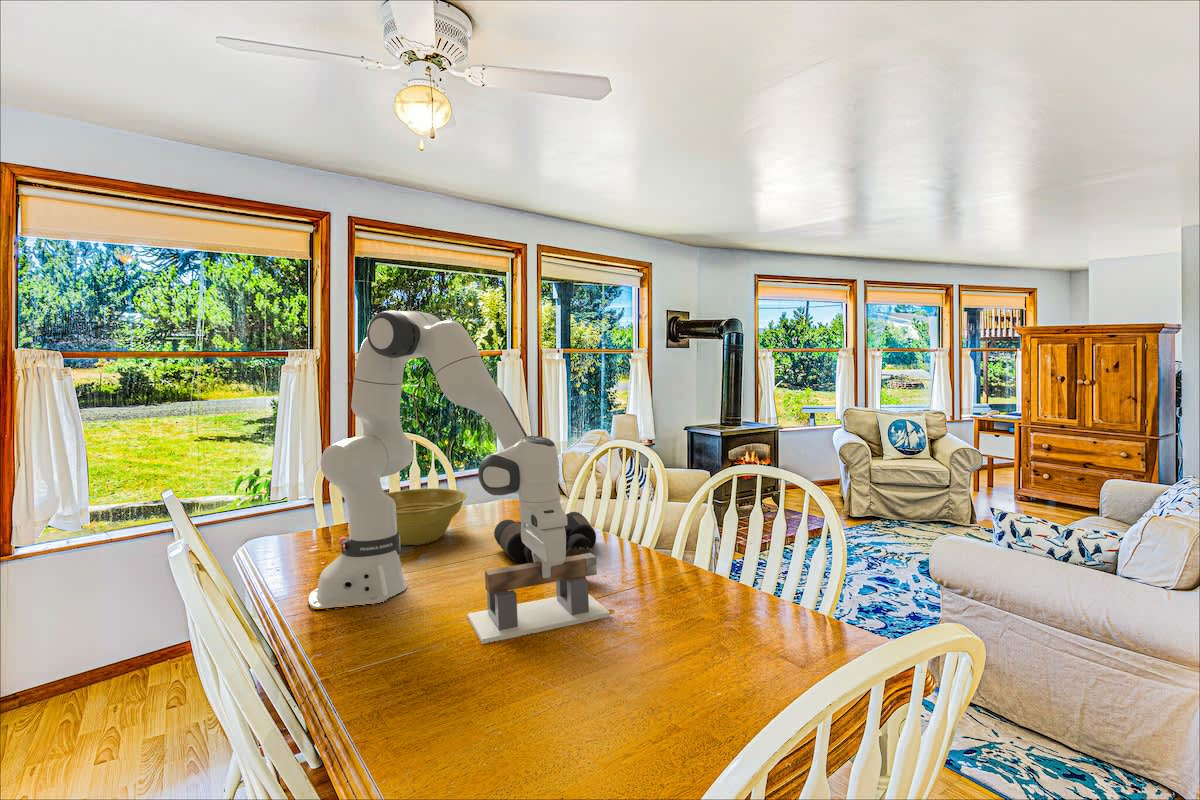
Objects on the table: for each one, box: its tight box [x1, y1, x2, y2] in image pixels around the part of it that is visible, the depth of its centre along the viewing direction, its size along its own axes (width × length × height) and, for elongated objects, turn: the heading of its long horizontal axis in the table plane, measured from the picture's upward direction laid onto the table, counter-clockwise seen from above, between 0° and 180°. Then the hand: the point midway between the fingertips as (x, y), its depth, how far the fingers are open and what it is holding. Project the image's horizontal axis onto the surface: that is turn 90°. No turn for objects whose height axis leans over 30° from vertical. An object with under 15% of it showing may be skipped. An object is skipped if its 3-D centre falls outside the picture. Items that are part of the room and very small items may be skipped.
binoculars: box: [493, 511, 597, 564], centre depth 177 cm, size 29×20×10 cm
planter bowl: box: [385, 487, 468, 546], centre depth 196 cm, size 32×32×13 cm
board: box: [467, 577, 611, 645], centre depth 133 cm, size 28×14×8 cm, turn 114°
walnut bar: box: [484, 553, 598, 594], centre depth 133 cm, size 24×3×4 cm, turn 114°
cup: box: [566, 547, 594, 579], centre depth 154 cm, size 8×7×8 cm
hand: (542, 573), depth 133 cm, fingers closed on walnut bar, 3 cm apart
